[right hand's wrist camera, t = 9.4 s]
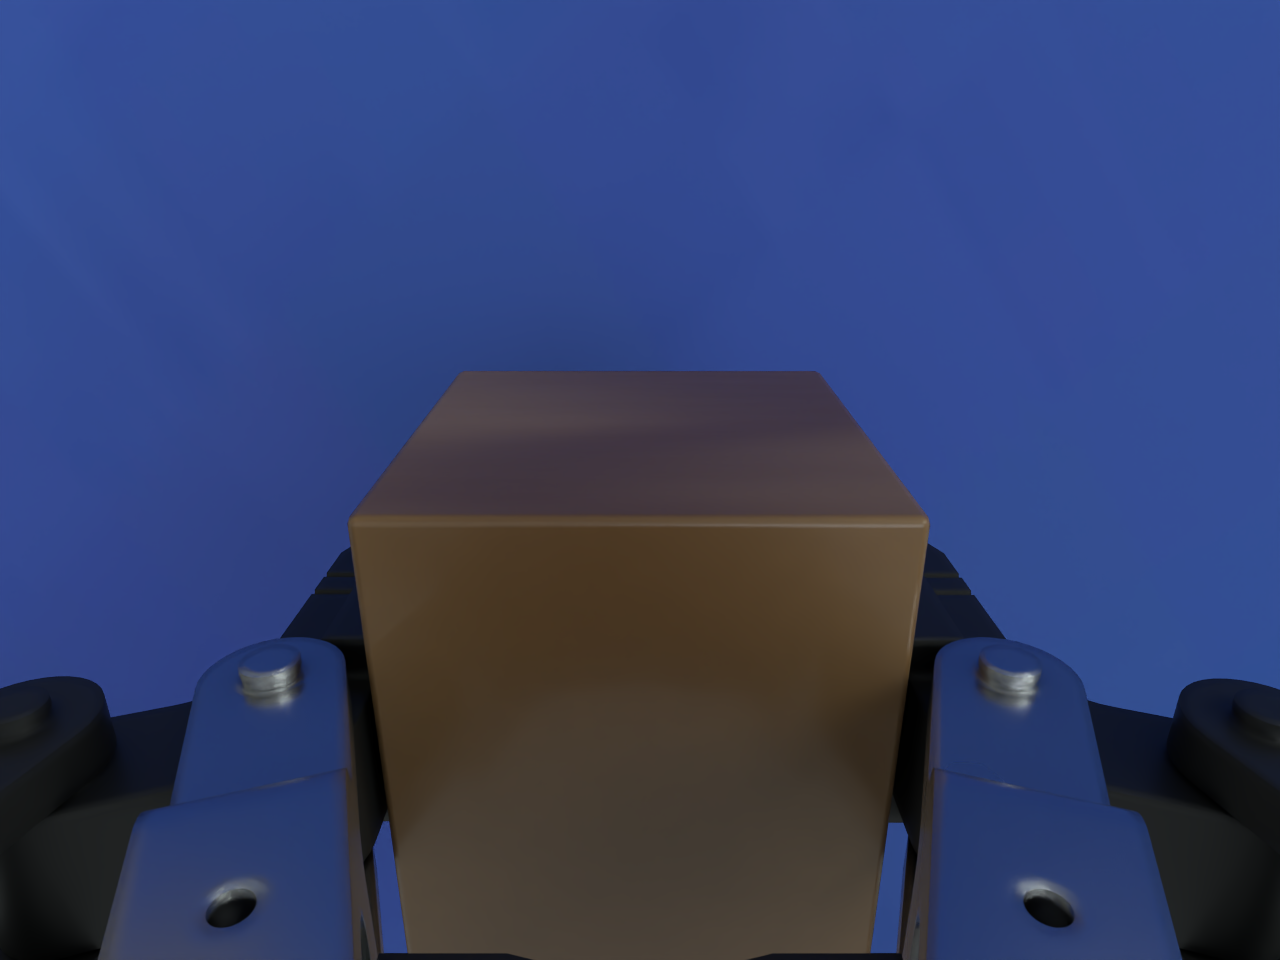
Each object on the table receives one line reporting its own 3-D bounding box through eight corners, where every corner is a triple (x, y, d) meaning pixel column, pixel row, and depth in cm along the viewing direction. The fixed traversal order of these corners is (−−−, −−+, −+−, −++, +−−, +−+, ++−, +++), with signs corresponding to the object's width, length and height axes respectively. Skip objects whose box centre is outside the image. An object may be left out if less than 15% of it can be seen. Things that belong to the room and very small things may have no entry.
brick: (821, 369, 11) (935, 518, 7) (794, 694, 13) (870, 972, 9) (458, 368, 11) (342, 518, 7) (485, 693, 13) (407, 972, 9)
